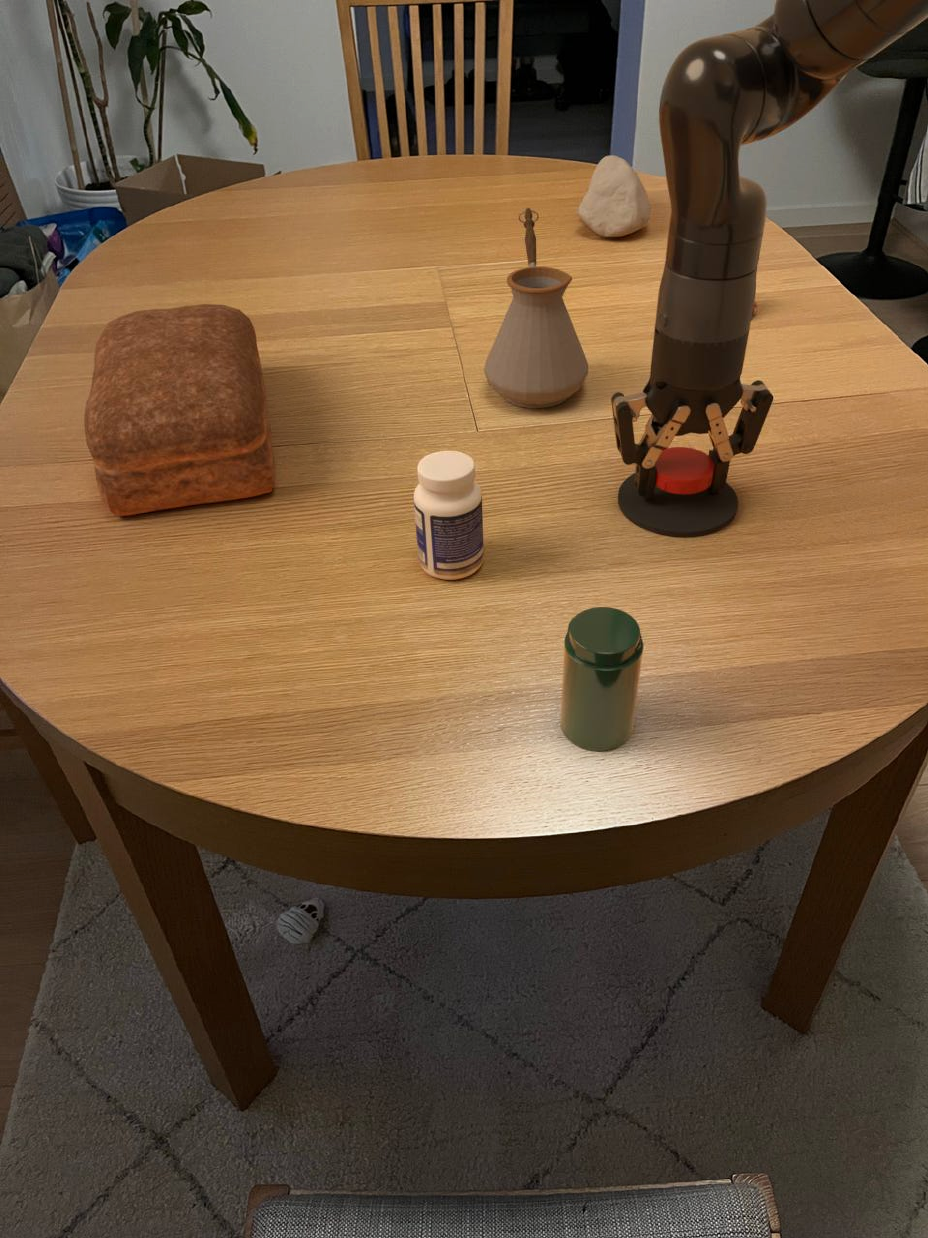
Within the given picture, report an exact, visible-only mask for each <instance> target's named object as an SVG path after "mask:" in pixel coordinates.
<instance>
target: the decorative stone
mask: <svg viewBox="0 0 928 1238" xmlns="http://www.w3.org/2000/svg"><path fill="white" fill-rule="evenodd" d="M594 169H595V170H594V171H593V173H592V176H591V178H590V181H589V187H588V190H587V191H586V193H585V196H584V197H583V199H582V201H581V203H580V204H579V205H578V208H577V210H576V212H577V216H578V217H579V219H580V220H582V222H583V223H584V224H585V225H586V226H587V227H588V228H589V229H590V230H591V231H593V232H594V233H595V234H597V235H598V236H600V237H604V238H605V237H606V238H617V237H618V238H619V237H625V236H626V235H631V234H633V233H636V232H637V231H639V230H640V229H643V228H644V227H645V226H646V225H647V224H648V223H649V221H650V219H651V209H652V208H651V203H650V199H649V196H648V193H647V191H646V188H645V186H644V183H642V181H641V179H640V177H639V174H638V173H637V171H635V170H634V168H633V167H632V166H631V165H630V164H629V163H628V161H627V160H626V159H624V158H623V157H619V156H617V155H615V154H611V155H605V156H604V157H603V158H601V160H600V161H599V162H598V164H597V165H596V168H594Z"/></svg>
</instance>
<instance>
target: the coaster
mask: <svg viewBox="0 0 928 1238" xmlns="http://www.w3.org/2000/svg"><path fill="white" fill-rule="evenodd" d="M634 482H635V472H634V473H631V475H629V476H627V478H625V479H624V480H623V481H622V483H621V485H620V487H618V493H617V494H618V495H617V503H618V507H619V509H620V511H621V513H622V514H623V516H625V517H626V519H628V520H629V521H630V522H631V523H633V524H634V525H636V526H638V527H639V528H641V529H644V530H646V531H648V532H651V533H654V534H659V535H661V536H667V537H675V538H695V537H702V536H707V535H710V534H713V533H716V532H718V531H720V530H723V529H724V528H725V527H727V526H728V525H729V524H730V523H732V522H733V520H734V519H735V517H736V515H737V512H738V508H739V498H738V495H737V493H736V491H735V490H734V488H733V487H732V486H731V485H730V484H729V483H728V481H726V484H725V486H724V488H723V489H719V494H718V495H709V493H708V491H707V490H706V489H705V490H704V491H701V492H698V493H694V494H674V493H670V492H667V491H664V490H662V489H660V488H658V487H657V486H655V489H654V497H653V501H646V502H645V501H644V499H643V497H642V496H639V494H638V491H637V489H636V487H635V484H634Z"/></svg>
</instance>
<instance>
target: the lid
mask: <svg viewBox="0 0 928 1238" xmlns="http://www.w3.org/2000/svg"><path fill="white" fill-rule="evenodd" d="M708 455H709V454H707V453H706V452H704V451H702V450H699V449H696V448H692V447H687V446H686V447H685V446H675V447H668V448H667V449H664V450H663V452H662V453H661V455H660V457H659V458H658V460H657V462H656V464H655V466H656V468H657V473H656V481H655V486H657V487H658V488H660V489H662V490H664V491H667V492H670V493H674V494H694V493H698V492H701V491H704V490H705V489H707V488H708V487H710V485H711V483H712V480H713V475H714V468H715V465H714V463H713V461H712V459H711V458H710V456H708Z"/></svg>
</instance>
